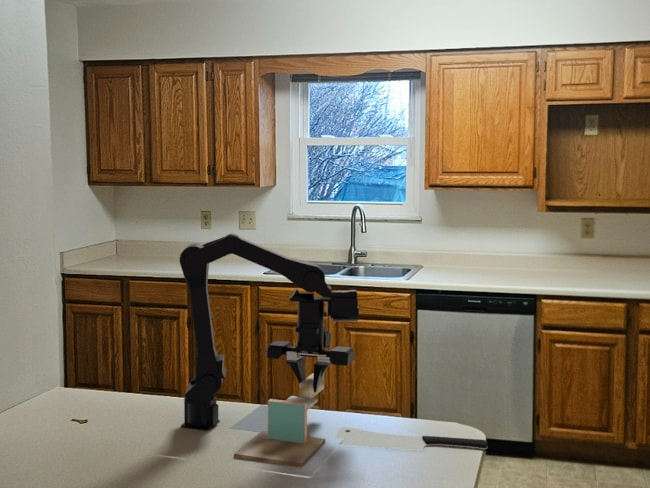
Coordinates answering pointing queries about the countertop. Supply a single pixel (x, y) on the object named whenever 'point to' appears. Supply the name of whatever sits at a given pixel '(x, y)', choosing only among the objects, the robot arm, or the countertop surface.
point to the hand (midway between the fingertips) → (309, 391)
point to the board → (279, 450)
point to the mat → (254, 420)
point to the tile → (287, 421)
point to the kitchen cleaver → (403, 440)
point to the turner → (308, 391)
